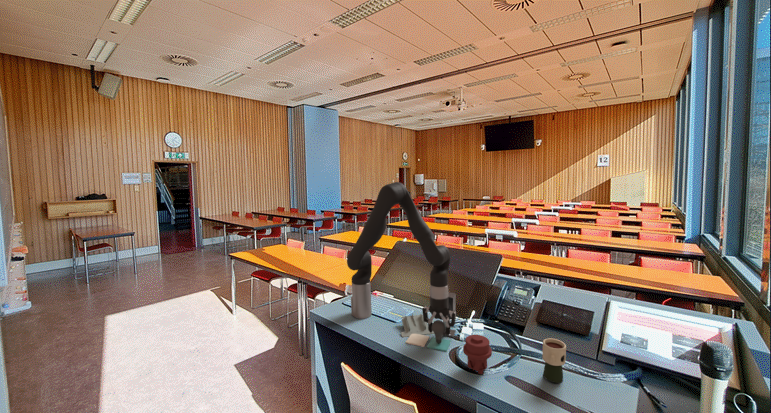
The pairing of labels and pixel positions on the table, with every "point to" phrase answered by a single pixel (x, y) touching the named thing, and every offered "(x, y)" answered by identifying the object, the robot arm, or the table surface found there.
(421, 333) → the metal bracket
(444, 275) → the robot arm
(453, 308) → the control housing
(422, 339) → the cream pad
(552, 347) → the character mug
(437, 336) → the light bulb
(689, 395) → the table surface
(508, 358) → the table surface
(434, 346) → the teal pad
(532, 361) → the table surface
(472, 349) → the mechanical component
